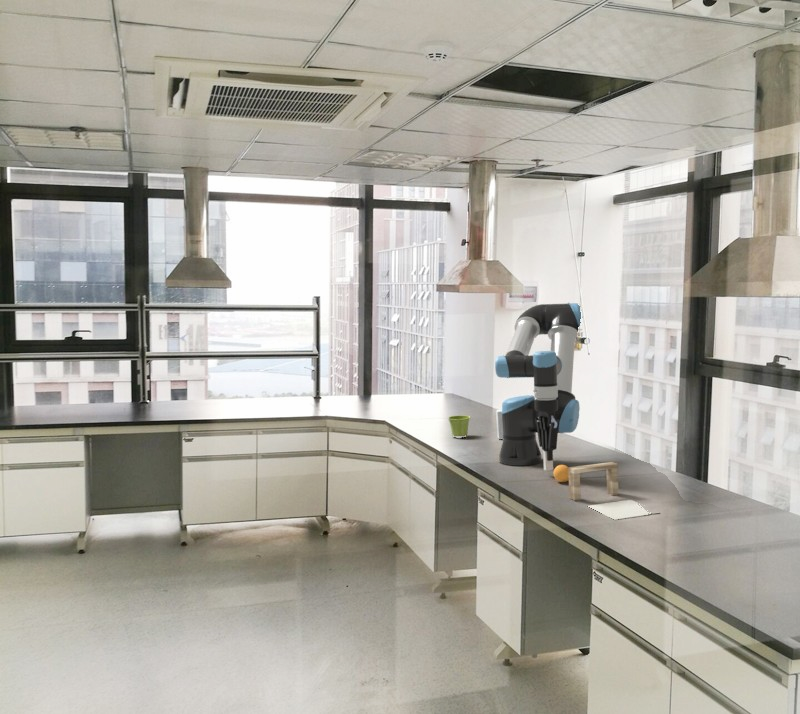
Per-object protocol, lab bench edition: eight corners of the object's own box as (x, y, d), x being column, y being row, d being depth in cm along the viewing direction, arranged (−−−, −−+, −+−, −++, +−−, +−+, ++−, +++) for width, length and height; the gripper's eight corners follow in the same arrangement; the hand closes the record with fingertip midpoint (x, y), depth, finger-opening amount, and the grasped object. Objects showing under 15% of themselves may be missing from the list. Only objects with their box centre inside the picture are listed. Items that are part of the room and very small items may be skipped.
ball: (550, 481, 241) (550, 464, 241) (566, 479, 243) (565, 462, 242) (558, 485, 236) (558, 467, 236) (574, 482, 238) (574, 465, 237)
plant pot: (469, 439, 316) (468, 419, 315) (447, 439, 318) (446, 419, 317) (472, 435, 325) (471, 415, 324) (451, 435, 327) (450, 415, 326)
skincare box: (511, 437, 315) (510, 409, 314) (513, 439, 311) (512, 410, 310) (496, 438, 315) (495, 409, 314) (498, 440, 311) (497, 411, 310)
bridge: (569, 498, 221) (568, 467, 220) (613, 492, 225) (612, 461, 224) (574, 500, 218) (573, 469, 217) (618, 494, 222) (617, 463, 221)
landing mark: (587, 506, 212) (587, 505, 212) (630, 500, 216) (630, 499, 216) (614, 520, 198) (614, 519, 198) (660, 513, 202) (660, 512, 202)
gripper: (526, 397, 251) (529, 467, 253) (544, 401, 239) (547, 475, 240) (547, 395, 253) (549, 464, 255) (566, 399, 241) (568, 472, 243)
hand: (548, 469), depth 248 cm, fingers closed
